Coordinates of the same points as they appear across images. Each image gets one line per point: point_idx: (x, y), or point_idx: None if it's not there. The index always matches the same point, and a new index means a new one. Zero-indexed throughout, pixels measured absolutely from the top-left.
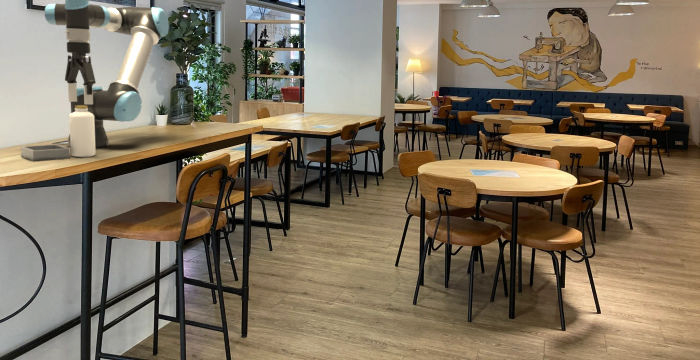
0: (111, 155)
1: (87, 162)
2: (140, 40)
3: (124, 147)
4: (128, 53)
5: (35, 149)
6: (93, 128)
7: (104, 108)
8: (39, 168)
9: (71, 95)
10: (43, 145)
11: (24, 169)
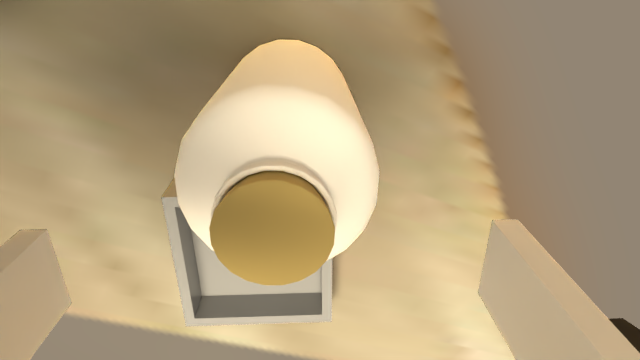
0: None
1: (469, 150)
2: None
3: None
4: None
5: (191, 271)
6: (346, 93)
7: None
8: (476, 313)
9: (20, 339)
10: (181, 251)
11: (463, 346)
